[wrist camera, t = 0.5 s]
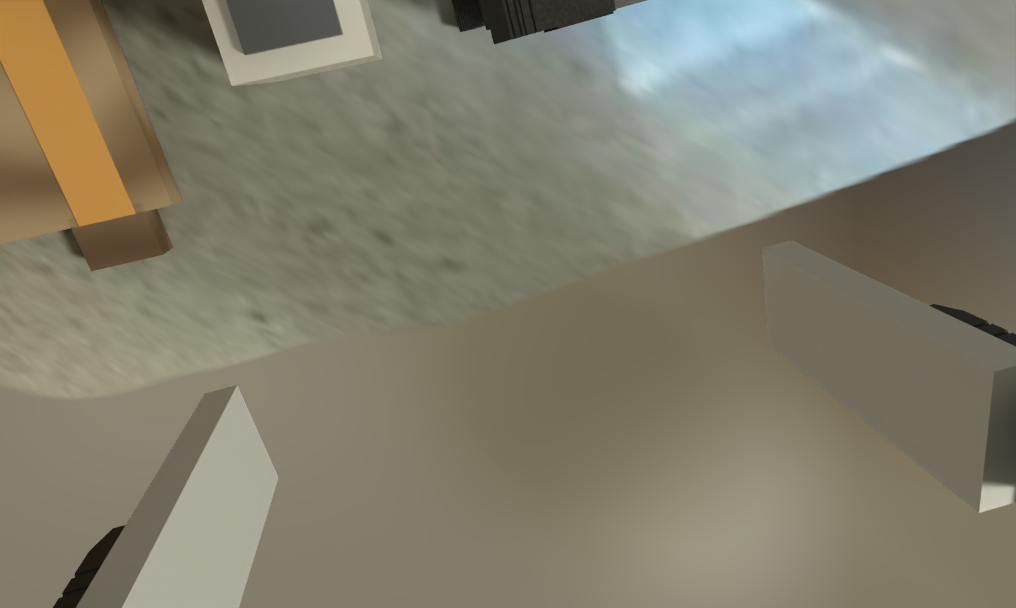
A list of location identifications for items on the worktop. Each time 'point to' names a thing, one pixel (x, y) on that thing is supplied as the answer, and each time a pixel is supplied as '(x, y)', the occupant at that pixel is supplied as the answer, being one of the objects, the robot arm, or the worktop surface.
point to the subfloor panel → (77, 136)
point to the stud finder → (290, 37)
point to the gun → (529, 15)
